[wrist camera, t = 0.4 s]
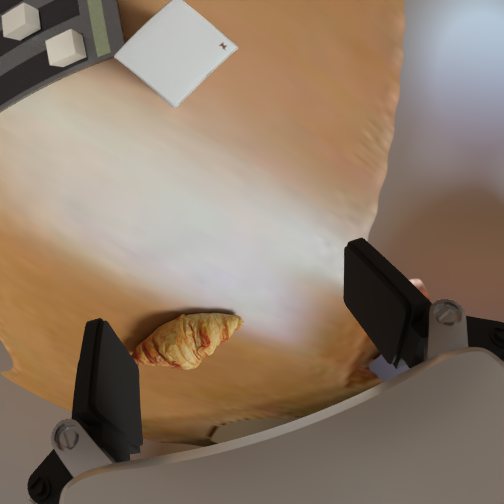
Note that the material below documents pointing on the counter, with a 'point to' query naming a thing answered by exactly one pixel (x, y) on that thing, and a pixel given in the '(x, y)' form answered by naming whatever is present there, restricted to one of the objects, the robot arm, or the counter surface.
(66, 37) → the block
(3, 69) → the panel
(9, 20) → the block
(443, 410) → the robot arm
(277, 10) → the counter surface
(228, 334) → the croissant
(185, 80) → the supplement box
